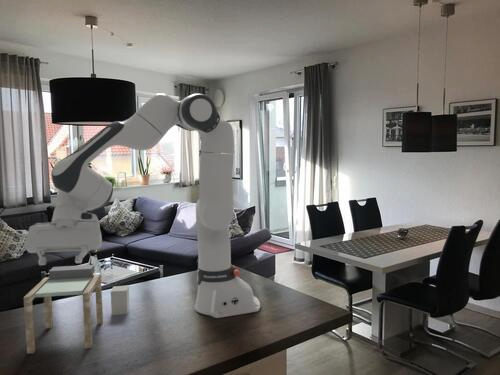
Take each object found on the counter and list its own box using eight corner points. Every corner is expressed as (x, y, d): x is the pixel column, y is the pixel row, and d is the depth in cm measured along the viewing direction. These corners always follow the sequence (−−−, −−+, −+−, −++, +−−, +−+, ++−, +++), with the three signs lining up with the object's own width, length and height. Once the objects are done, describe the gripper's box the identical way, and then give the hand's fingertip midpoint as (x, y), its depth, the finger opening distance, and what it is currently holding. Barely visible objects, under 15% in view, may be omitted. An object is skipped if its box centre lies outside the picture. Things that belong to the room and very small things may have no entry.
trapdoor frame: (102, 322, 125) (100, 274, 124) (91, 348, 109) (88, 293, 107) (47, 326, 123) (44, 277, 121) (27, 353, 106) (23, 297, 105)
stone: (129, 308, 136) (128, 285, 136) (127, 314, 131) (126, 290, 131) (114, 309, 135) (113, 286, 135) (111, 315, 131) (110, 291, 130)
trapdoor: (94, 276, 125) (94, 264, 125) (82, 294, 109) (81, 281, 109) (53, 278, 123) (53, 267, 123) (35, 297, 107) (34, 284, 107)
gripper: (27, 217, 114) (15, 259, 106) (101, 214, 118) (96, 255, 109) (33, 229, 119) (23, 271, 110) (105, 226, 123) (100, 266, 114)
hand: (60, 263), depth 110 cm, fingers open, 8 cm apart
